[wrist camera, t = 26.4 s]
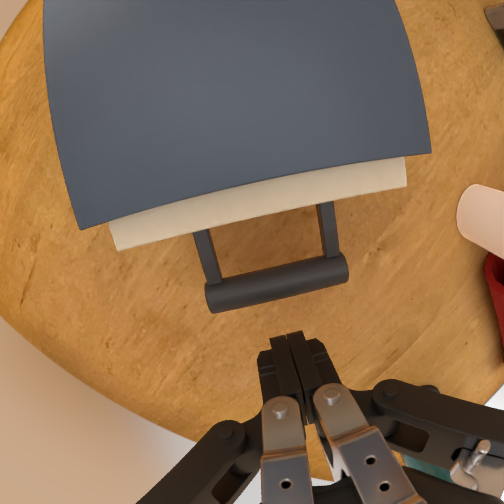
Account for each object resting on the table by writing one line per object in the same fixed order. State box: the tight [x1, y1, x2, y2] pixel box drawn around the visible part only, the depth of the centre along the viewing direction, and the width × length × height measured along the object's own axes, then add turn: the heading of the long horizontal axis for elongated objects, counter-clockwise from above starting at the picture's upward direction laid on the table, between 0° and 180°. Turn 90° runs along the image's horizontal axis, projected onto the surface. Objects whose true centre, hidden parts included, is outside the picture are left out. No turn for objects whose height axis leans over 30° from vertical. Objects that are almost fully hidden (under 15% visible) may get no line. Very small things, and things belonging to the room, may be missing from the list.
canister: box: [400, 453, 458, 485], centre depth 18 cm, size 5×5×13 cm
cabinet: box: [43, 0, 432, 230], centre depth 9 cm, size 15×12×8 cm
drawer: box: [108, 157, 407, 314], centre depth 10 cm, size 18×10×6 cm, turn 12°
